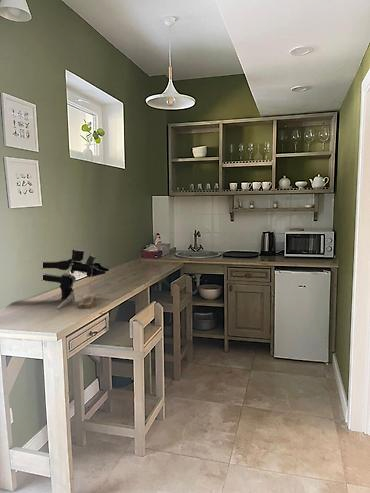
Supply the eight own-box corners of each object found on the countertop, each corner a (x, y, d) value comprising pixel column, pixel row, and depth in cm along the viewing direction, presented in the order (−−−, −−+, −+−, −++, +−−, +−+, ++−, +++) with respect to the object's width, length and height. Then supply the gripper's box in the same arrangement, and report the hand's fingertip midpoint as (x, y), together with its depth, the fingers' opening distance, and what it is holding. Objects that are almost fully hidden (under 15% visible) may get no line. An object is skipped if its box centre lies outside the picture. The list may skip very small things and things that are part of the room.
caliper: (73, 301, 225) (72, 291, 225) (74, 301, 225) (74, 291, 225) (55, 310, 206) (54, 299, 205) (57, 310, 205) (56, 299, 205)
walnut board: (78, 308, 208) (78, 304, 207) (84, 298, 231) (83, 294, 231) (91, 307, 209) (91, 303, 208) (95, 297, 232) (94, 294, 232)
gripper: (78, 256, 222) (105, 260, 222) (87, 252, 241) (112, 256, 241) (76, 275, 224) (102, 279, 223) (85, 269, 242) (110, 273, 242)
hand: (107, 271), depth 232 cm, fingers open, 9 cm apart
